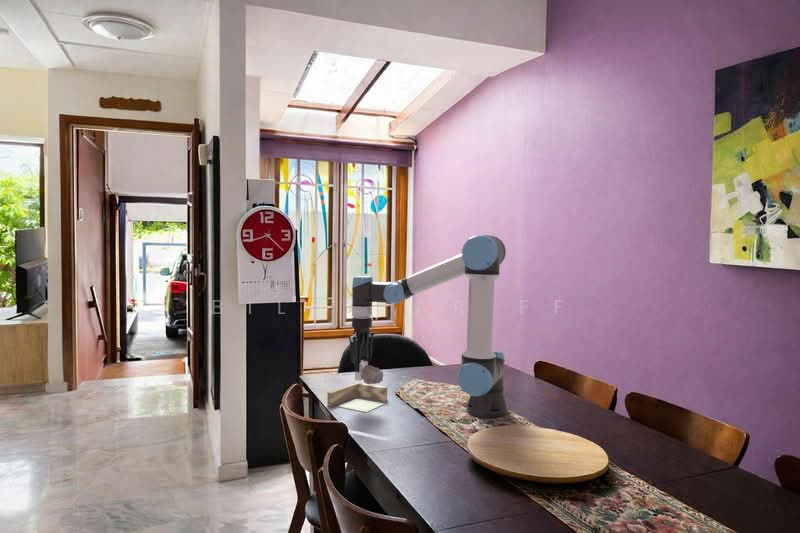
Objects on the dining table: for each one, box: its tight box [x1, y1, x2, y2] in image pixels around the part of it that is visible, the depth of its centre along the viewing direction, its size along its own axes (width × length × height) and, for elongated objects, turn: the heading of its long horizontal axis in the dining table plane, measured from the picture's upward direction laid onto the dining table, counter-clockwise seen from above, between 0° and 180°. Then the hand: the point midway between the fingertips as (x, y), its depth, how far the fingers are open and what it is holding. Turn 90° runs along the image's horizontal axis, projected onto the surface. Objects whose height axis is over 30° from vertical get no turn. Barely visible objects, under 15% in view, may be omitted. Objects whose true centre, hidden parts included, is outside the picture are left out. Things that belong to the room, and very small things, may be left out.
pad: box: [337, 398, 385, 414], centre depth 199 cm, size 13×12×1 cm
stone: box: [362, 364, 384, 385], centre depth 194 cm, size 10×8×6 cm
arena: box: [327, 382, 388, 407], centre depth 203 cm, size 15×18×5 cm
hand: (361, 378), depth 199 cm, fingers closed on stone, 3 cm apart
